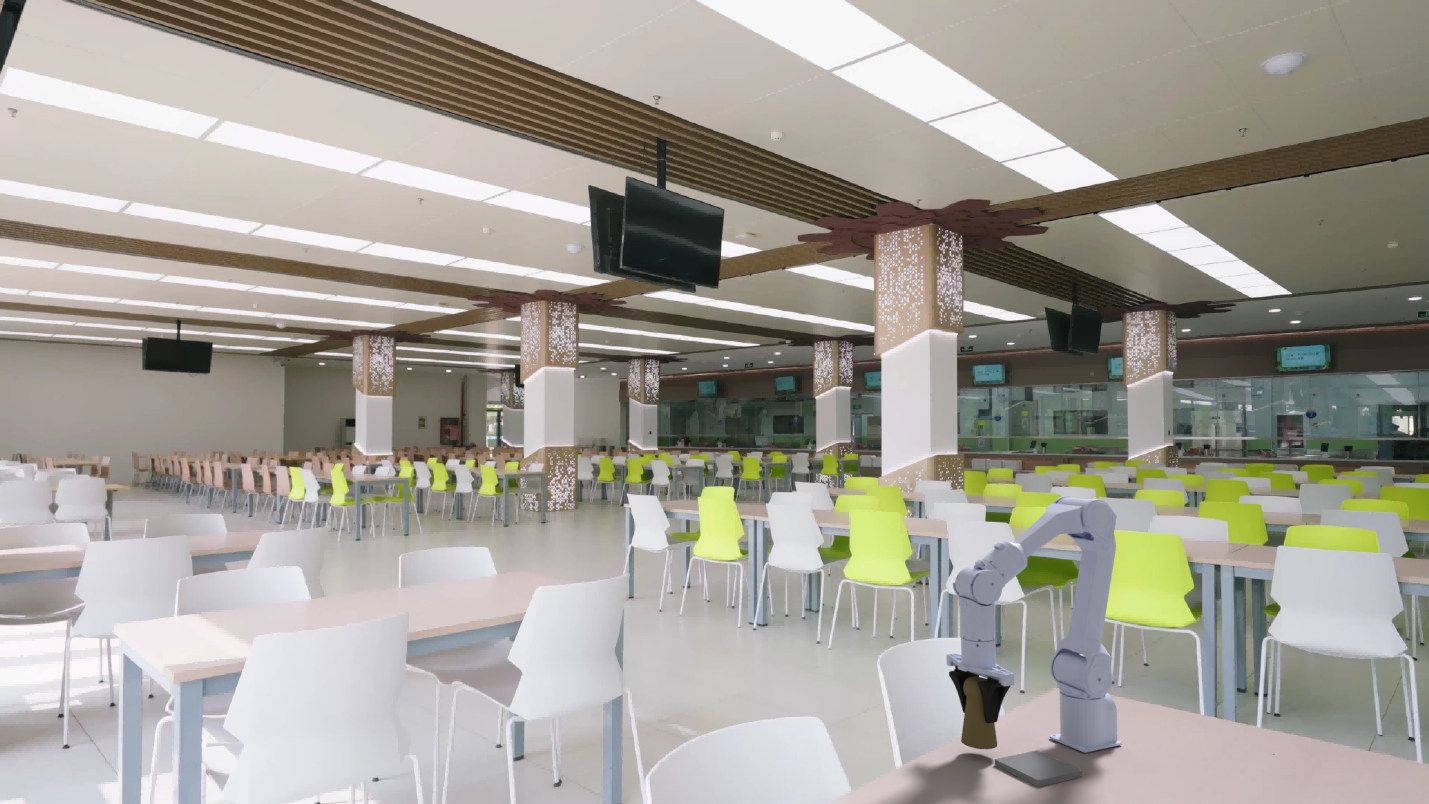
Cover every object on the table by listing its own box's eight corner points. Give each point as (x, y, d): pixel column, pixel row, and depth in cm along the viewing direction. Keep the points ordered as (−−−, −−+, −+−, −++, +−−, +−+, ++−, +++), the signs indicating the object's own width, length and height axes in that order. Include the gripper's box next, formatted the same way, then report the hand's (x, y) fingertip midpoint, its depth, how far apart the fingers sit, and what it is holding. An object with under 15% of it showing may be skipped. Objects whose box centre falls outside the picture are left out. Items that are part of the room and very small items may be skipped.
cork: (999, 750, 137) (999, 684, 137) (962, 747, 138) (962, 682, 139) (995, 738, 143) (994, 674, 143) (959, 735, 144) (959, 672, 145)
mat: (1036, 756, 140) (1036, 750, 140) (1082, 776, 131) (1082, 770, 132) (994, 765, 136) (994, 759, 136) (1038, 787, 128) (1038, 780, 128)
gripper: (932, 631, 146) (934, 708, 146) (990, 650, 133) (992, 734, 132) (963, 627, 149) (964, 702, 149) (1022, 645, 136) (1024, 727, 135)
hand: (979, 717), depth 141 cm, fingers closed on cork, 5 cm apart
